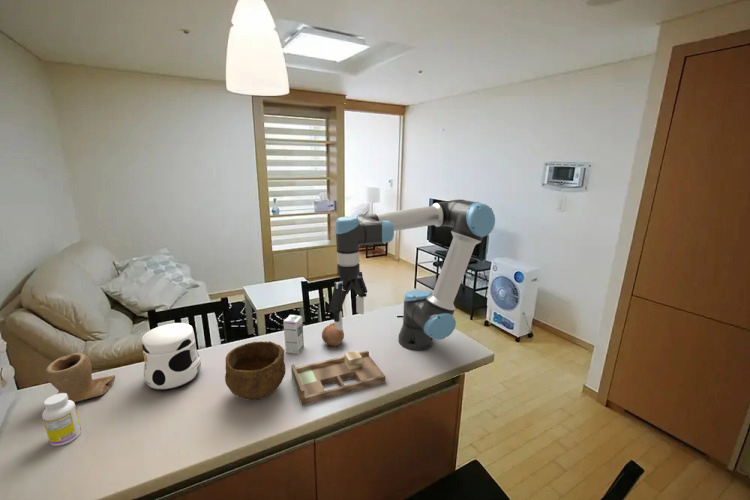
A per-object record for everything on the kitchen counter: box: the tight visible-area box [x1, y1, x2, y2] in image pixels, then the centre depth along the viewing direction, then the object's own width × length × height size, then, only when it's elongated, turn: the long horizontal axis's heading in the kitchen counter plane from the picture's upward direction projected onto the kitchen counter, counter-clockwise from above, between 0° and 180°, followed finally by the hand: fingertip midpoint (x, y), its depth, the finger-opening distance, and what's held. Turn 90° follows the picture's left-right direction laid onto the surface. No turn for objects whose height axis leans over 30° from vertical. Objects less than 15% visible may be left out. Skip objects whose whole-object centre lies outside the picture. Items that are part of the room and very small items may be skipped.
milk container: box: [141, 322, 202, 391], centre depth 118 cm, size 17×17×18 cm
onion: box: [321, 322, 345, 348], centre depth 144 cm, size 10×9×10 cm
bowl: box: [224, 341, 286, 401], centre depth 112 cm, size 19×19×15 cm
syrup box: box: [283, 314, 305, 355], centre depth 138 cm, size 6×6×14 cm
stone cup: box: [45, 352, 116, 403], centre depth 109 cm, size 15×12×15 cm
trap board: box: [290, 350, 387, 407], centre depth 121 cm, size 30×16×6 cm, turn 115°
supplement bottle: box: [41, 393, 82, 447], centre depth 93 cm, size 7×7×13 cm
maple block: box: [344, 350, 362, 370], centre depth 126 cm, size 5×5×4 cm
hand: (349, 320), depth 119 cm, fingers open, 13 cm apart
